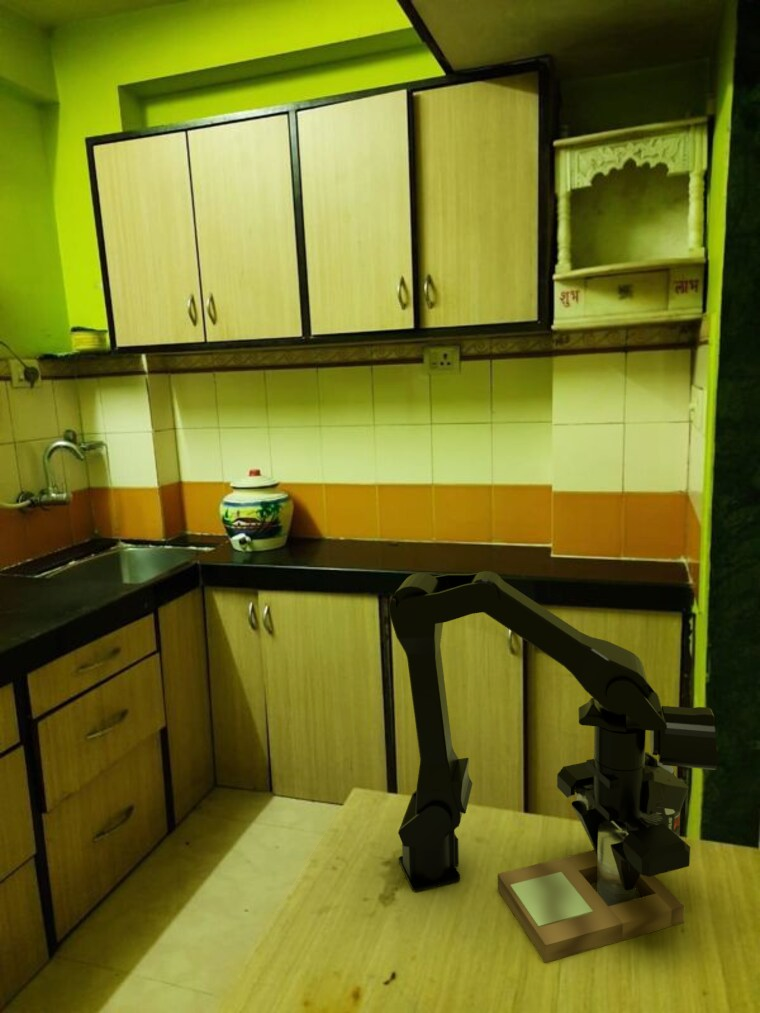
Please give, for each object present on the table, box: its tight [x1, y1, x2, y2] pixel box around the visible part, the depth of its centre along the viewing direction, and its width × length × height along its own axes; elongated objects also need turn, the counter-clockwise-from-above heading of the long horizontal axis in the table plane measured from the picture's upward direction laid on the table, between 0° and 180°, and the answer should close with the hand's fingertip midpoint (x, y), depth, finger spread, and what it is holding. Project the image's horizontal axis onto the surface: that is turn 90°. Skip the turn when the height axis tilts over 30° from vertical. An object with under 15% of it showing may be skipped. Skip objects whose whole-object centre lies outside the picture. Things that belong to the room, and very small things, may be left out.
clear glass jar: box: [596, 821, 637, 906], centre depth 86 cm, size 4×4×9 cm
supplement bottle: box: [641, 760, 681, 837], centre depth 96 cm, size 6×6×11 cm
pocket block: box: [497, 849, 685, 963], centre depth 86 cm, size 18×12×2 cm, turn 106°
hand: (616, 875), depth 86 cm, fingers closed on clear glass jar, 4 cm apart
